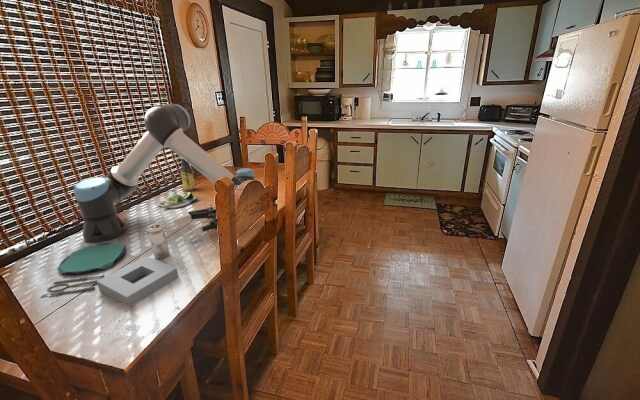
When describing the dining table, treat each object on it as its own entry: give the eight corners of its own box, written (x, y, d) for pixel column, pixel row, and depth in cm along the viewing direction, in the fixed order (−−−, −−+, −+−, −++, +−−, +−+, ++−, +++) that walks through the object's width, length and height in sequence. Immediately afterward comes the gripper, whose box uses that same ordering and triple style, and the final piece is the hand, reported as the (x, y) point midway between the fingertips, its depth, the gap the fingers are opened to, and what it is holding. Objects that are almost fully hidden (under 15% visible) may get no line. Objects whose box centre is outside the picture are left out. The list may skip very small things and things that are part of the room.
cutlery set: (134, 243, 121) (132, 238, 120) (101, 292, 94) (98, 286, 93) (78, 250, 117) (76, 245, 116) (27, 302, 90) (24, 296, 89)
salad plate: (175, 213, 150) (174, 204, 148) (148, 209, 156) (146, 200, 154) (202, 199, 167) (201, 191, 165) (177, 196, 172) (175, 188, 171)
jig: (99, 290, 93) (96, 281, 92) (148, 264, 106) (146, 256, 105) (129, 307, 86) (126, 297, 85) (178, 277, 99) (176, 268, 98)
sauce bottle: (181, 191, 179) (175, 158, 172) (189, 188, 185) (183, 155, 177) (190, 192, 177) (183, 159, 170) (197, 189, 182) (192, 156, 175)
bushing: (149, 257, 111) (141, 228, 106) (164, 250, 116) (157, 221, 111) (160, 262, 108) (152, 231, 103) (175, 253, 113) (168, 224, 108)
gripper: (250, 224, 125) (203, 245, 110) (215, 210, 140) (170, 227, 125) (248, 208, 122) (199, 227, 107) (213, 195, 137) (166, 210, 122)
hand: (184, 227), depth 116 cm, fingers open, 13 cm apart
